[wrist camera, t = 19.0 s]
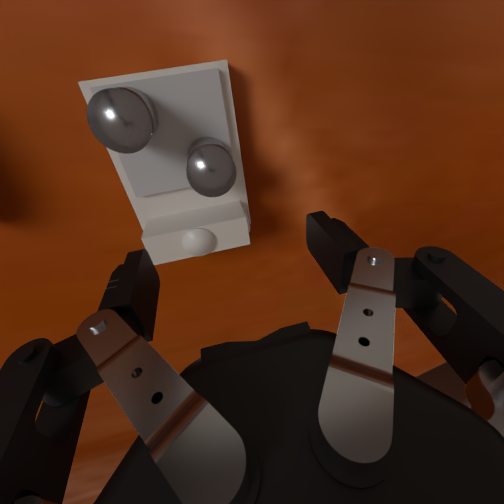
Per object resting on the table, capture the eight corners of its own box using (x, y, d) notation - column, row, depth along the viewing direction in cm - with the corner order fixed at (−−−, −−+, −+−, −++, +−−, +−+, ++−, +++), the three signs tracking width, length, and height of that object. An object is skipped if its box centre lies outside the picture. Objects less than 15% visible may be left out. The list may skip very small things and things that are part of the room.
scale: (87, 81, 23) (52, 82, 18) (224, 61, 25) (234, 55, 19) (152, 235, 33) (143, 269, 27) (247, 215, 34) (259, 243, 29)
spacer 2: (182, 140, 25) (180, 152, 21) (225, 133, 25) (232, 143, 21) (193, 183, 27) (193, 201, 23) (232, 176, 28) (239, 192, 24)
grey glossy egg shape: (96, 91, 21) (74, 93, 17) (148, 82, 22) (138, 83, 18) (118, 145, 24) (104, 158, 20) (164, 136, 24) (159, 148, 20)
